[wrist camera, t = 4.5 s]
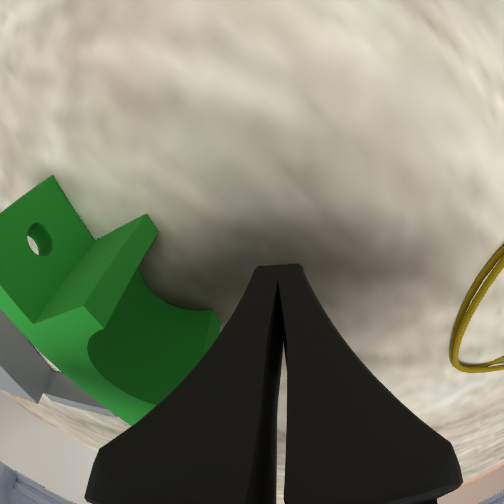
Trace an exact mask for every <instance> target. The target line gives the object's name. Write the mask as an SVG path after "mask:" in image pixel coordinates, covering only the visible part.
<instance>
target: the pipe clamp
mask: <svg viewBox="0 0 504 504" xmlns="http://www.w3.org/2000/svg"><path fill="white" fill-rule="evenodd" d="M158 232H159V231H158V230H157V228H156V227H155V225H154V224H153V222H152V221H151V219H150V217H149V216H148V214H145V215H143V216H141V217H139V218H137V219H135V220H133V221H132V222H130V223H128V224H126V225H124V226H122V227H120V228H118V229H116V230H114V231H113V232H111V233H109V234H107V235H105V236H103V237H101V238H100V239H98V240H95V239H94V238H93V236H92V235H91V233H90V232H89V230H88V229H87V228H86V226H85V225H84V223H83V222H82V220H81V219H80V217H79V216H78V214H77V213H76V211H75V210H74V208H73V207H72V205H71V204H70V202H69V200H68V199H67V197H66V196H65V194H64V192H63V191H62V189H61V188H60V186H59V184H58V183H57V181H56V179H55V178H54V176H53V175H52V176H51V177H49V178H48V179H46V180H45V181H43V182H42V183H40V184H39V185H37V186H36V187H35V188H33V189H32V190H30V191H29V192H28V193H26V194H25V195H23V196H22V197H21V198H19V199H18V200H17V201H15V202H14V203H13V204H12V205H10V206H9V207H8V208H6V209H5V210H4V211H3V212H1V213H0V308H1V310H2V311H3V312H4V313H5V314H6V315H7V317H8V318H9V319H10V320H11V321H12V322H13V323H14V325H15V326H16V327H17V328H18V329H19V330H20V331H21V332H22V333H23V334H24V335H25V337H26V338H27V339H28V340H29V341H30V342H31V343H32V344H33V345H34V346H35V347H36V348H37V349H38V350H39V351H40V352H41V353H42V354H43V355H44V356H45V357H46V358H47V359H48V360H50V361H51V362H52V363H53V364H54V365H55V366H56V367H57V368H58V369H59V370H60V371H62V372H63V373H64V374H65V375H66V376H67V377H68V378H70V379H71V380H72V381H73V382H74V383H75V384H77V385H78V386H79V387H80V388H81V389H83V390H84V391H85V392H86V393H88V394H89V395H90V396H91V397H93V398H94V399H95V400H97V401H98V402H99V403H101V404H102V405H103V406H105V407H106V408H107V409H109V410H110V411H111V412H113V413H114V414H116V415H117V416H118V417H120V418H121V419H123V420H124V421H126V422H127V423H129V424H130V425H132V426H133V425H134V424H135V423H137V422H138V421H139V420H140V419H142V418H143V417H144V416H145V415H146V414H147V413H149V412H150V411H151V410H152V409H153V408H154V407H155V406H156V405H158V404H159V403H160V402H161V401H162V400H163V399H164V398H165V397H167V396H168V395H169V394H170V393H171V392H172V391H173V390H174V389H175V388H176V387H177V386H178V385H179V384H180V382H181V381H182V380H183V379H184V378H185V377H186V376H187V375H188V374H189V373H190V372H191V370H192V369H193V368H194V367H195V366H196V365H197V363H198V362H199V361H200V360H201V359H202V357H203V356H204V355H205V354H206V352H207V351H208V350H209V348H210V347H211V346H212V344H213V343H214V342H215V340H216V339H217V337H218V336H219V333H220V328H221V322H222V321H221V320H220V318H219V317H218V316H217V314H216V313H215V312H214V310H213V309H210V310H204V311H192V310H186V309H181V308H178V307H175V306H173V305H170V304H168V303H167V302H165V301H163V300H162V299H160V298H159V297H158V296H156V295H155V294H154V293H153V292H152V291H151V290H150V289H149V287H148V286H147V285H146V283H145V282H144V280H143V278H142V276H141V273H140V269H139V264H140V262H141V261H142V259H143V257H144V256H145V254H146V252H147V250H148V249H149V247H150V245H151V244H152V242H153V241H154V239H155V237H156V236H157V234H158ZM27 236H29V237H31V238H32V239H33V240H34V241H35V243H36V244H37V247H38V250H39V255H37V254H36V253H34V252H33V251H32V249H31V248H30V246H29V244H28V240H27Z"/></svg>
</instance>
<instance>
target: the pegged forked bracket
mask: <svg viewBox="0 0 504 504" xmlns="http://www.w3.org/2000/svg"><path fill="white" fill-rule="evenodd" d="M0 389H2V390H5V391H7V392H9V393H12V394H14V395H16V396H19V397H21V398H24V399H26V400H29V401H32V402H34V403H37V404H38V403H39V400H40V398H41V396H42V394H43V393H44V394H45V395H46V396H47V397H48V398H49V399H50V400H51V401H55V402H58V403H61V404H65V405H68V406H72V407H75V408H79V409H83V410H87V411H91V412H95V413H99V414H104V415H108V416H113V417H117V415H116V414H114V413H113V412H111V411H110V410H109V409H107V408H106V407H105V406H103V405H102V404H101V403H99V402H98V401H97V400H95V399H94V398H93V397H91V396H90V395H89V394H88V393H86V392H85V391H84V390H83V389H81V388H80V387H79V386H78V385H77V384H75V383H74V382H73V381H72V380H71V379H70V378H68V377H67V376H66V375H65V374H64V373H60V372H56V371H53V370H52V369H51V367H50V366H49V365H48V364H47V363H46V362H45V360H44V359H43V358H42V357H41V356H40V354H39V353H38V352H37V351H36V349H35V348H34V347H33V346H32V344H31V343H30V342H29V340H28V339H27V338H26V337H25V335H24V334H23V333H22V332H21V331H20V330H19V329H18V328H17V327H16V326H15V325H14V323H13V322H12V321H11V320H10V319H9V318H8V317H7V315H6V314H5V313H4V312H3V311H2V310H1V308H0Z"/></svg>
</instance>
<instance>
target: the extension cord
mask: <svg viewBox="0 0 504 504" xmlns="http://www.w3.org/2000/svg"><path fill="white" fill-rule="evenodd" d="M501 257H502V258H501ZM500 258H501V259H500ZM499 259H500V260H499ZM498 261H499V262H498ZM497 262H498V263H497ZM496 263H497V264H496ZM495 264H496V266H495ZM494 266H495V267H494ZM493 267H494V268H493ZM492 268H493V270H492ZM503 268H504V245H503V246H502V247H501V248H500V249H499V250H498V251H497V252H496V253H495V254H494V255H493V257H492V258H491V259H490V261H489V262H488V263H487V265H486V266H485V267H484V268H483V270H482V271H481V272H480V274H479V275H478V277H477V278H476V280H475V282H474V283H473V285H472V287H471V288H470V290H469V292H468V294H467V296H466V298H465V300H464V302H463V304H462V306H461V309H460V311H459V314H458V317H457V320H456V323H455V326H454V330H453V334H452V339H451V346H450V362H451V364H452V365H453V367H455V368H456V369H458V370H460V371H462V372H467V373H483V372H491V371H497V370H503V369H504V365H498V366H491V365H493V364H496V363H498V362H500V361H502V360H504V356H502V357H500V358H498V359H496V360H494V361H491V362H488V363H485V364H482V365H477V366H463V365H461V364H460V363H459V361H458V352H459V347H460V343H461V340H462V337H463V335H464V332H465V330H466V327H467V325H468V323H469V321H470V319H471V317H472V315H473V313H474V312H475V310H476V308H477V306H478V305H479V303H480V301H481V300H482V298H483V296H484V295H485V293H486V292H487V290H488V288H489V287H490V286H491V284H492V283H493V281H494V280H495V278H496V277H497V276H498V274H499V273H500V272H501V270H502V269H503ZM491 270H492V271H491ZM490 271H491V273H490V274H489V276H488V277H487V279H486V280H485V282H484V283H483V284H482V286H481V288H480V289H479V291H478V293H477V294H476V296H475V297H474V299H473V301H472V303H471V305H470V306H469V304H470V301H471V300H472V298H473V296H474V295H475V293H476V291H477V290H478V288H479V286H480V285H481V283H482V281H483V280H484V278H485V277H486V276H487V275H488V273H489V272H490ZM468 306H469V308H468ZM467 309H468V310H467ZM466 311H467V312H466ZM465 313H466V314H465ZM488 366H491V367H488Z"/></svg>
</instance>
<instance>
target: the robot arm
mask: <svg viewBox="0 0 504 504" xmlns="http://www.w3.org/2000/svg"><path fill="white" fill-rule="evenodd" d="M283 341H284V350H285V358H286V366H287V433H286V462H285V484H284V502H285V504H437V498H439V497H441V496H443V495H445V494H448V493H450V492H452V491H454V490H456V489H457V488H459V487H460V486H461V484H462V483H463V479H462V474H461V469H460V465H459V462H458V459H457V457H456V454H455V452H454V449H453V447H452V444H451V443H450V442H449V441H448V440H446V439H445V438H444V437H442V436H441V435H440V434H438V433H437V432H436V431H434V430H433V429H432V428H430V427H429V426H428V425H427V424H425V423H424V422H423V421H422V420H421V419H419V418H418V417H417V416H416V415H415V414H414V413H412V412H411V411H410V410H409V409H408V408H407V407H406V406H404V405H403V404H402V403H401V402H400V401H399V400H398V399H397V398H396V397H395V396H394V395H393V394H392V393H391V392H390V391H389V390H388V389H387V388H386V387H385V386H384V385H383V384H382V383H381V382H380V381H379V380H378V379H377V378H376V377H375V376H374V375H373V374H372V373H371V372H370V371H369V369H368V368H367V367H366V366H365V365H364V364H363V363H362V362H361V360H360V359H359V358H358V357H357V356H356V354H355V353H354V352H353V351H352V349H351V348H350V347H349V346H348V344H347V343H346V342H345V340H344V339H343V338H342V336H341V335H340V333H339V332H338V331H337V329H336V328H335V326H334V325H333V323H332V322H331V320H330V319H329V317H328V316H327V314H326V313H325V311H324V309H323V308H322V306H321V304H320V303H319V301H318V299H317V298H316V296H315V294H314V292H313V290H312V288H311V286H310V284H309V282H308V280H307V278H306V276H305V273H304V270H303V267H302V266H301V265H300V264H299V263H298V264H284V265H270V266H258V267H257V268H256V269H255V270H254V273H253V276H252V278H251V280H250V283H249V285H248V287H247V289H246V291H245V293H244V295H243V297H242V299H241V300H240V302H239V304H238V306H237V307H236V309H235V311H234V313H233V314H232V316H231V318H230V319H229V321H228V322H227V324H226V325H225V327H224V328H223V330H222V331H221V333H220V334H219V336H218V337H217V339H216V340H215V342H214V343H213V344H212V346H211V347H210V348H209V350H208V351H207V352H206V354H205V355H204V356H203V357H202V359H201V360H200V361H199V362H198V363H197V365H196V366H195V367H194V368H193V369H192V370H191V372H190V373H189V374H188V375H187V376H186V377H185V378H184V379H183V380H182V381H181V382H180V384H179V385H178V386H177V387H176V388H175V389H174V390H173V391H172V392H171V393H170V394H169V395H168V396H167V397H165V398H164V399H163V400H162V401H161V402H160V403H159V404H158V405H156V406H155V407H154V408H153V409H152V410H151V411H150V412H149V413H147V414H146V415H145V416H144V417H143V418H142V419H140V420H139V421H138V422H137V423H135V424H134V425H133V426H131V427H130V428H129V429H127V430H126V431H124V432H123V433H122V434H120V435H119V436H117V437H116V438H115V439H113V440H112V441H110V442H109V443H107V444H106V445H104V446H103V447H101V448H100V449H99V451H98V454H97V456H96V459H95V461H94V463H93V467H92V471H91V474H90V478H89V481H88V486H87V489H86V493H85V497H84V498H85V499H86V501H87V502H90V503H92V504H276V475H277V408H278V396H279V386H280V376H281V365H282V354H283ZM0 504H76V503H73V502H71V501H69V500H67V499H65V498H63V497H60V496H59V495H57V494H54V493H53V492H50V491H49V490H47V489H45V487H44V486H42V485H40V484H38V483H36V482H35V481H33V480H31V479H29V478H28V477H26V476H24V475H22V474H21V473H19V472H17V471H15V470H13V469H11V468H10V467H8V466H6V465H5V464H4V463H2V462H0ZM476 504H504V489H503V490H501V491H500V492H498V493H496V494H494V495H492V496H490V497H488V498H486V499H484V500H482V501H480V502H478V503H476Z"/></svg>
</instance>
